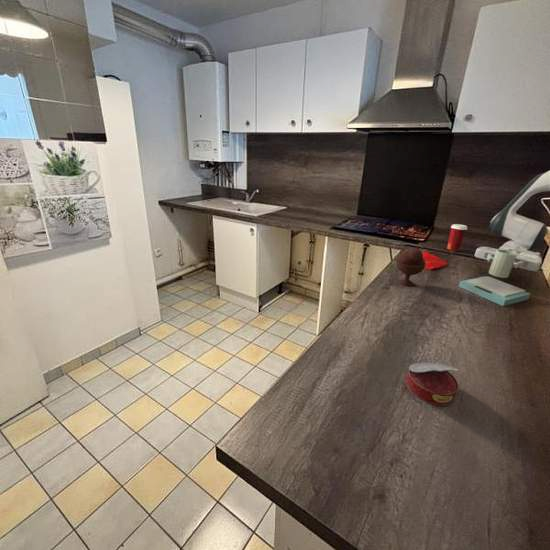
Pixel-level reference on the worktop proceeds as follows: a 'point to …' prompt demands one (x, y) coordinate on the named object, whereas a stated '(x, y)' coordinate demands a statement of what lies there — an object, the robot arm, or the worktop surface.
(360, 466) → the worktop surface
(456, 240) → the paper cup
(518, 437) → the worktop surface
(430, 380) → the canned food
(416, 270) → the ice cream bowl
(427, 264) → the cloth
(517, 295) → the scale
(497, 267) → the cup
